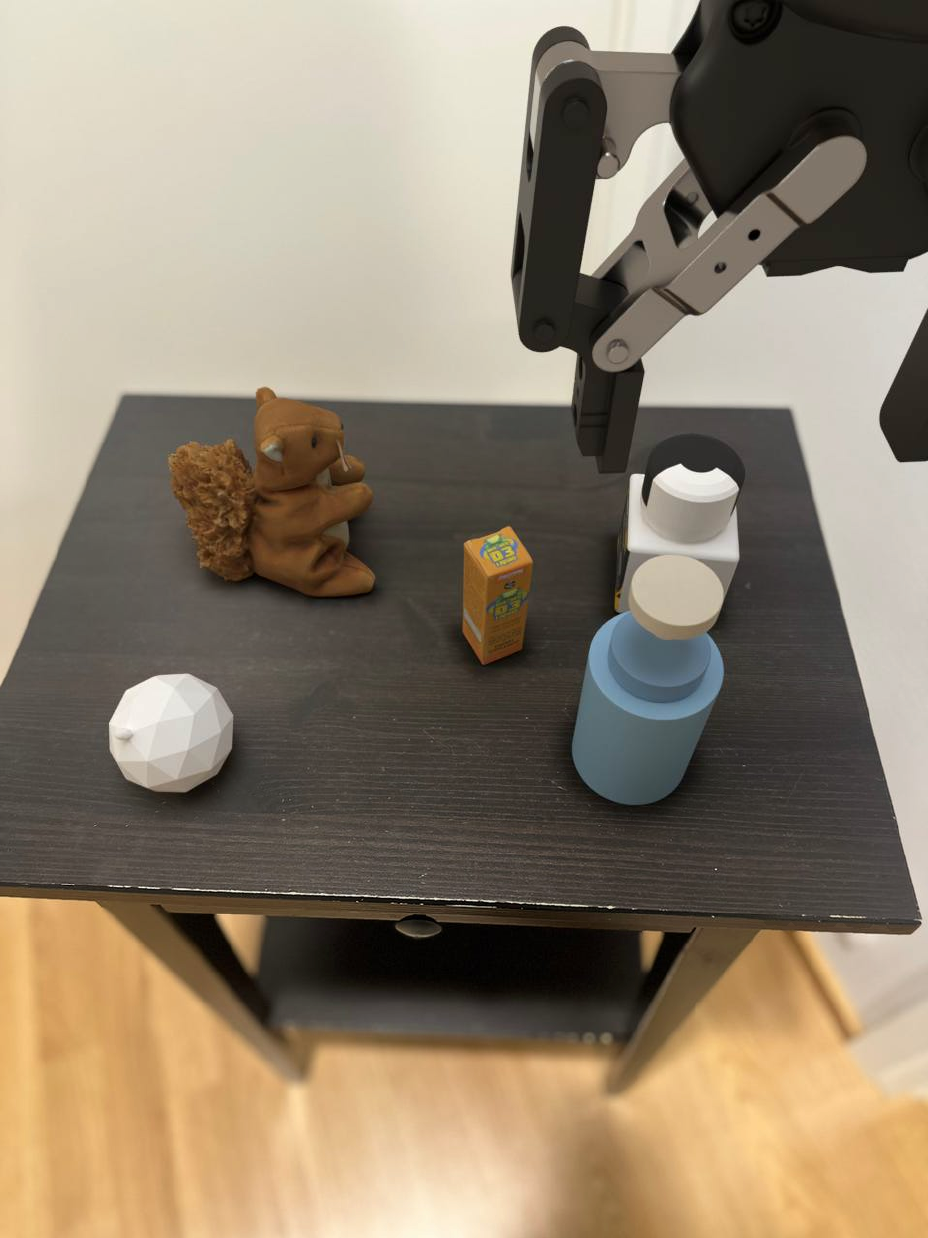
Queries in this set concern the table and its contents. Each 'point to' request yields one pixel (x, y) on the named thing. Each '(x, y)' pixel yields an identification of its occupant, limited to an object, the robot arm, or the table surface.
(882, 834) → the table surface
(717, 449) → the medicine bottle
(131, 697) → the ornament
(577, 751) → the pump bottle
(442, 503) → the table surface
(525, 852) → the table surface
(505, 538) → the supplement box
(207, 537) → the stuffed squirrel
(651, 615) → the disc
